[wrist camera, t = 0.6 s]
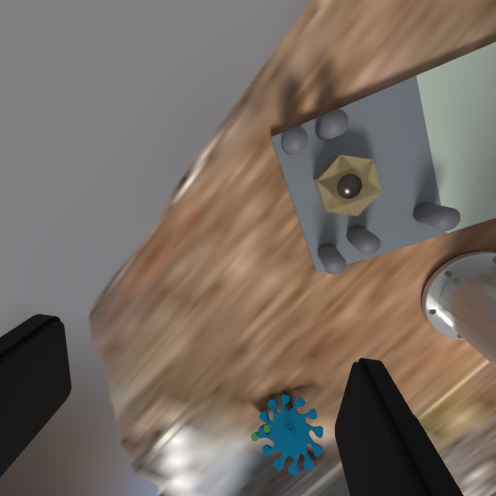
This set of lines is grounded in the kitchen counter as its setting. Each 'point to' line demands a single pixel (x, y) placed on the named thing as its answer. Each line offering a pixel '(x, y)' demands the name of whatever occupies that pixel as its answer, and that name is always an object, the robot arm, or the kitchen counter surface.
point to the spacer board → (401, 161)
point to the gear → (289, 434)
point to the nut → (347, 185)
